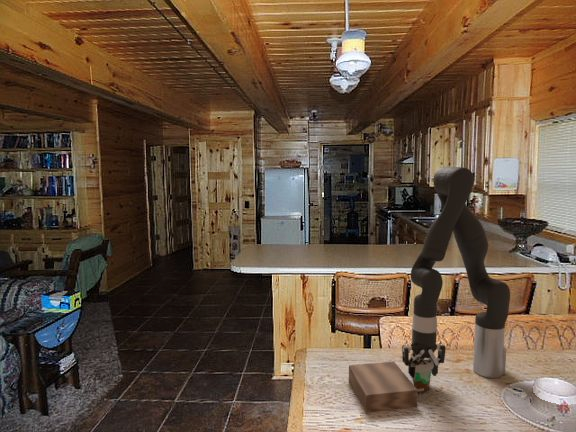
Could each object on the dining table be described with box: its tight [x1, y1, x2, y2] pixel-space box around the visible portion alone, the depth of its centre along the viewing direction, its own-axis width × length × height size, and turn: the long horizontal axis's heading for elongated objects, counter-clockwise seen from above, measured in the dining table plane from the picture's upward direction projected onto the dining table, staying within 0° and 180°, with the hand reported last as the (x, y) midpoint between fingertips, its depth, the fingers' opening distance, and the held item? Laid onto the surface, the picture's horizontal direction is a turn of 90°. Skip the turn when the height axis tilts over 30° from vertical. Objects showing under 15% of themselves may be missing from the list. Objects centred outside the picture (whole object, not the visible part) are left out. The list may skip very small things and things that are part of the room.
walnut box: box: [348, 361, 418, 414], centre depth 133 cm, size 16×18×6 cm
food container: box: [411, 351, 434, 395], centre depth 136 cm, size 12×6×10 cm, turn 168°
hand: (422, 375), depth 136 cm, fingers closed on food container, 7 cm apart
